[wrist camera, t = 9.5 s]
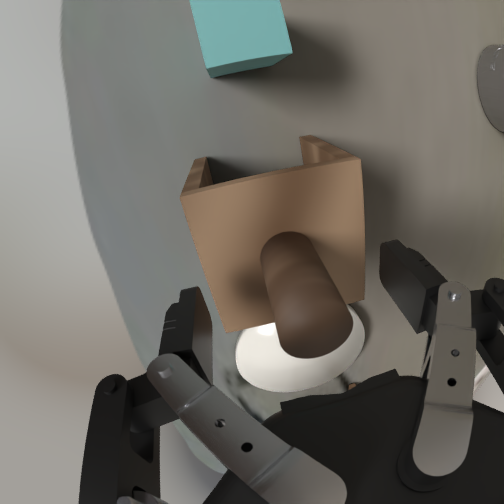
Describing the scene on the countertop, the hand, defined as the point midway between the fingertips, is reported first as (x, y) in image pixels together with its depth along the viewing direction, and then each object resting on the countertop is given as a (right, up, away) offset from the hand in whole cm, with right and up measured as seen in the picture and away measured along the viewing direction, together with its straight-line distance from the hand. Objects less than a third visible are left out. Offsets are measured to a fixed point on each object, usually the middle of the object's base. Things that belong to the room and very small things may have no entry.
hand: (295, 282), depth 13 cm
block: (-3, +14, +3) cm, 15 cm away
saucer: (+3, -8, +16) cm, 18 cm away
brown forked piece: (-1, +5, +9) cm, 10 cm away
